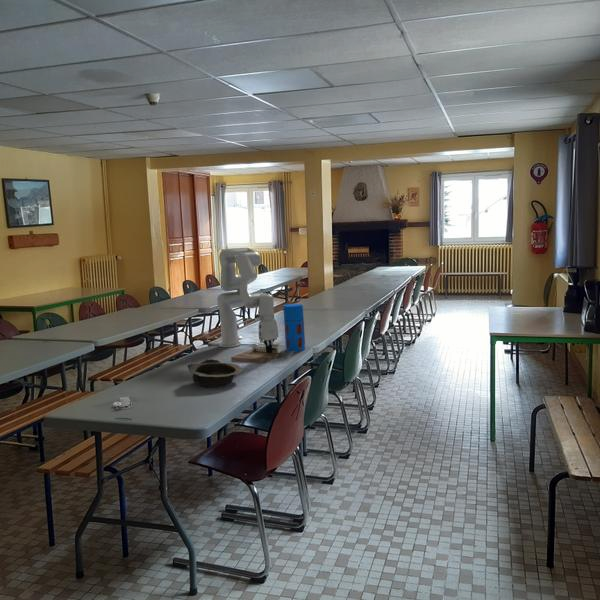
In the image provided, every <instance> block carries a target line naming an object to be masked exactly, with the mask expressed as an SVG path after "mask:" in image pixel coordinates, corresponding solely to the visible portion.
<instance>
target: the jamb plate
mask: <svg viewBox="0 0 600 600" xmlns="http://www.w3.org/2000/svg"><path fill="white" fill-rule="evenodd" d="M284 354H285V353H284V350H281V352H280V353H268V352H260V351H253V350H252V349H249V350H247V351H243V352H242V353H238V354H236V355H233V356H231V357H230V358H231V361H232V362H240V363H250V364H251V363H254V364H263V365H264V364H267V362H270V361H273V360H276V359H278V358H280V357H282V356H284Z"/></svg>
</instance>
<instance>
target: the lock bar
mask: <svg viewBox="0 0 600 600" xmlns="http://www.w3.org/2000/svg"><path fill="white" fill-rule="evenodd" d="M251 348H252V349H251V350H253V351H260V352H266V345H265V344H264V345H262V344H260V343H253V344H252V345H251ZM281 348H282V347H281V346H279V347H275V346H272V352H270V353H280V352H281V351H282V349H281Z"/></svg>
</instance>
